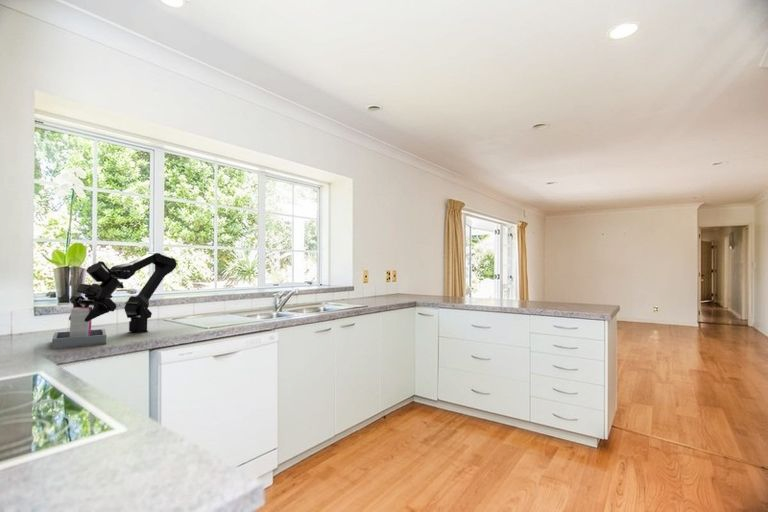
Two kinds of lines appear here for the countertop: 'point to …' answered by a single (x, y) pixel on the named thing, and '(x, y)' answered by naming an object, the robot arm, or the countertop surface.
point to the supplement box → (80, 322)
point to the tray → (78, 339)
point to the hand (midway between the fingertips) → (77, 320)
